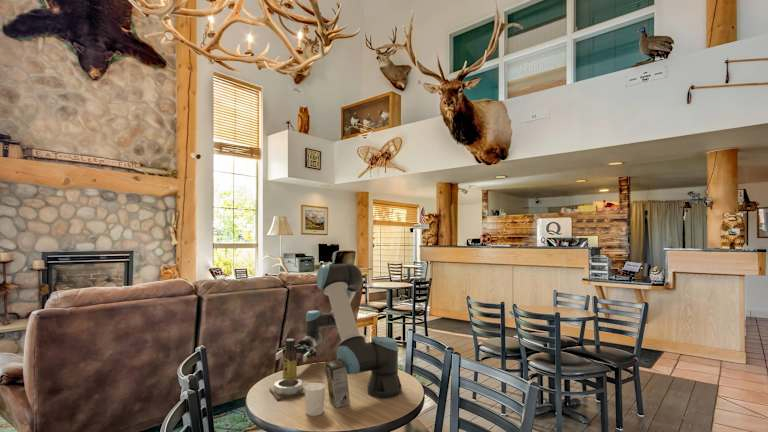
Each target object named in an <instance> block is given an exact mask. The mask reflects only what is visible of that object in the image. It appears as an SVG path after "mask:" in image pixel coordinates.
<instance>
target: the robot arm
mask: <svg viewBox="0 0 768 432" xmlns="http://www.w3.org/2000/svg"><path fill="white" fill-rule="evenodd" d="M363 280H364V277H363V273H362V271H361V269H360V268H359V267H358V266H357V265H355V264H353V263H334V264H331V263H328V264H321V265H320V266H319V268H318V270H317V273H316V286H317V288H318V289H319V290H323V294H324V295H325V296H327V297H328V300H329V302H330V308H331V311H329V312H326V313H321V311H319V310H309V311H307V312H306V315H305V336H304V337H303V338H302V339H300V340H299V341H298V342H297V344H296V345H294V350H295V352H296V354H301V355H302V362H306V361H307V360H308V359H310V358H312V357H314V358H316V357H317V349H316V348H317V347H318V346H319V345H320V344H321V342H322V340H323V336H322V334H321V329H322V328H330V327H331V328H332V327H336V329H337V331H338V335H339V338H340V339H339V340H340V341H339V343H338V348H337V350H336V359H340V360H341V361H342V362H343V363H344V364H345V365H346V369H347V376H348V375H358V374H360V373H366V372H367V373H368V372H370V371H371V373H370V377H369V380H368V383H367V386H366V387H367V389H366V390H367V393H368V395H370V396H372V397H374V398H377V399H378V398H379V399H389V398H395V396H396V397H398V396H400V395H401V394H402V389H403V387H402V383H401V380H400V376H399V372H398V370H399V367H398V366H399V359H398V358H399V355H398V354H399V347H398V346H399V344H398V342H397V340H395V339H394V338H391V337H386V336H373V337H372V338H371V340H370V342H366V339H365V336H363V335H361V334H360V331H359V328H358V324H357V322H356V318H355V315H354V312H353V309H352V306H351V302H352V300H354V299H353V298H354V297H355V295H356V293H357V292H359V291H360V289H361V288H362V285H363ZM285 351H286V346H284V347H281V348H277V349H276V353H275V361H278V360H279V359H280V358H283V355H284V352H285ZM399 394H400V395H399Z"/></svg>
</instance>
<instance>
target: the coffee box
mask: <svg viewBox="0 0 768 432" xmlns="http://www.w3.org/2000/svg"><path fill="white" fill-rule="evenodd" d="M324 365H325V374H326V375H325V376H326V381H327V383H326V384H327V389H328V399H329V401H330V402H331V404H332V405H333V406H334V407H335V408H336V409H338V408H341V407H345V406H347V405H350V404H351V402H350V401H351V398H350V391H349V389H350V388H349V380H348V374H347V369H346V365H345V364H344V363H343V362H342V361H341V360H340V359H337V358H336V359H333V360H329V361H325V362H324Z"/></svg>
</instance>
